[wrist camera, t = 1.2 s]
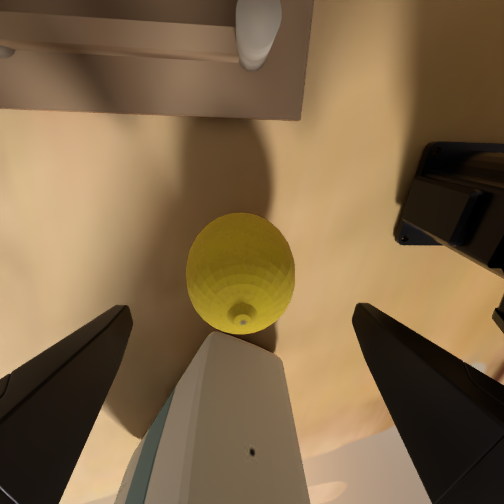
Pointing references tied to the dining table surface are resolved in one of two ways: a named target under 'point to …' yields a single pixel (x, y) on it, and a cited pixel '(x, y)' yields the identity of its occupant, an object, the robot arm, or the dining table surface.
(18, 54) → the cradle tray
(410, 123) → the dining table surface
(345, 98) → the dining table surface
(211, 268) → the lemon
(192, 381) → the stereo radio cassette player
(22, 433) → the robot arm
